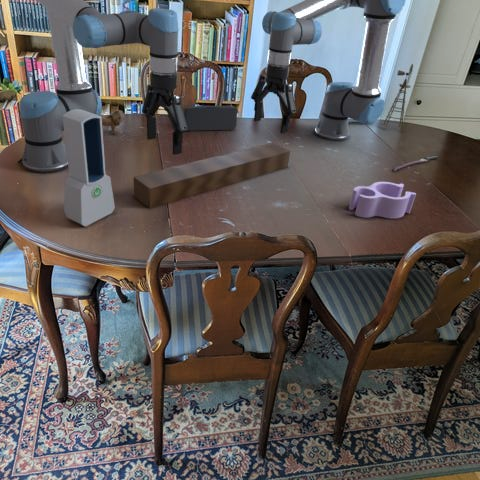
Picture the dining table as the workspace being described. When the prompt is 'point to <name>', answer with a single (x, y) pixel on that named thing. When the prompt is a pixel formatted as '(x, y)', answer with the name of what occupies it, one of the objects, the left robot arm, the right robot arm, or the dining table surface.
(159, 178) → the wide beam
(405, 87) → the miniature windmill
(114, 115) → the lion figurine
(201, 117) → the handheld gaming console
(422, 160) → the sword
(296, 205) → the dining table surface
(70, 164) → the electronic device
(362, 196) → the clip
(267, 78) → the right robot arm
